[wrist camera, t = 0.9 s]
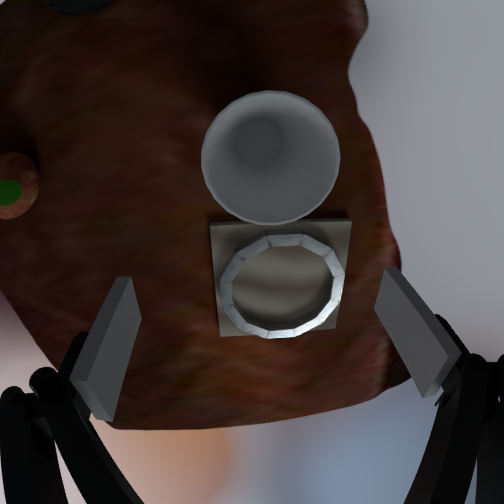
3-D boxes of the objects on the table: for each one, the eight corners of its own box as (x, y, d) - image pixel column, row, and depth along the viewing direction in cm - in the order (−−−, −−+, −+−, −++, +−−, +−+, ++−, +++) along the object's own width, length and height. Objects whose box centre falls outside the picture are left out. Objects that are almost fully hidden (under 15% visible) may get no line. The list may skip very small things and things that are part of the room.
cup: (230, 195, 36) (231, 243, 24) (198, 115, 32) (179, 119, 20) (312, 167, 35) (353, 201, 23) (285, 85, 30) (317, 74, 18)
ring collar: (216, 231, 37) (215, 237, 35) (345, 226, 38) (350, 232, 36) (225, 332, 44) (224, 340, 43) (331, 325, 45) (334, 332, 44)
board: (210, 222, 38) (209, 226, 37) (348, 218, 39) (351, 221, 37) (220, 331, 46) (220, 336, 45) (333, 323, 47) (335, 328, 46)
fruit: (3, 152, 30) (-42, 170, 21) (50, 141, 31) (4, 157, 22) (11, 207, 34) (-29, 234, 25) (57, 202, 35) (17, 232, 26)
